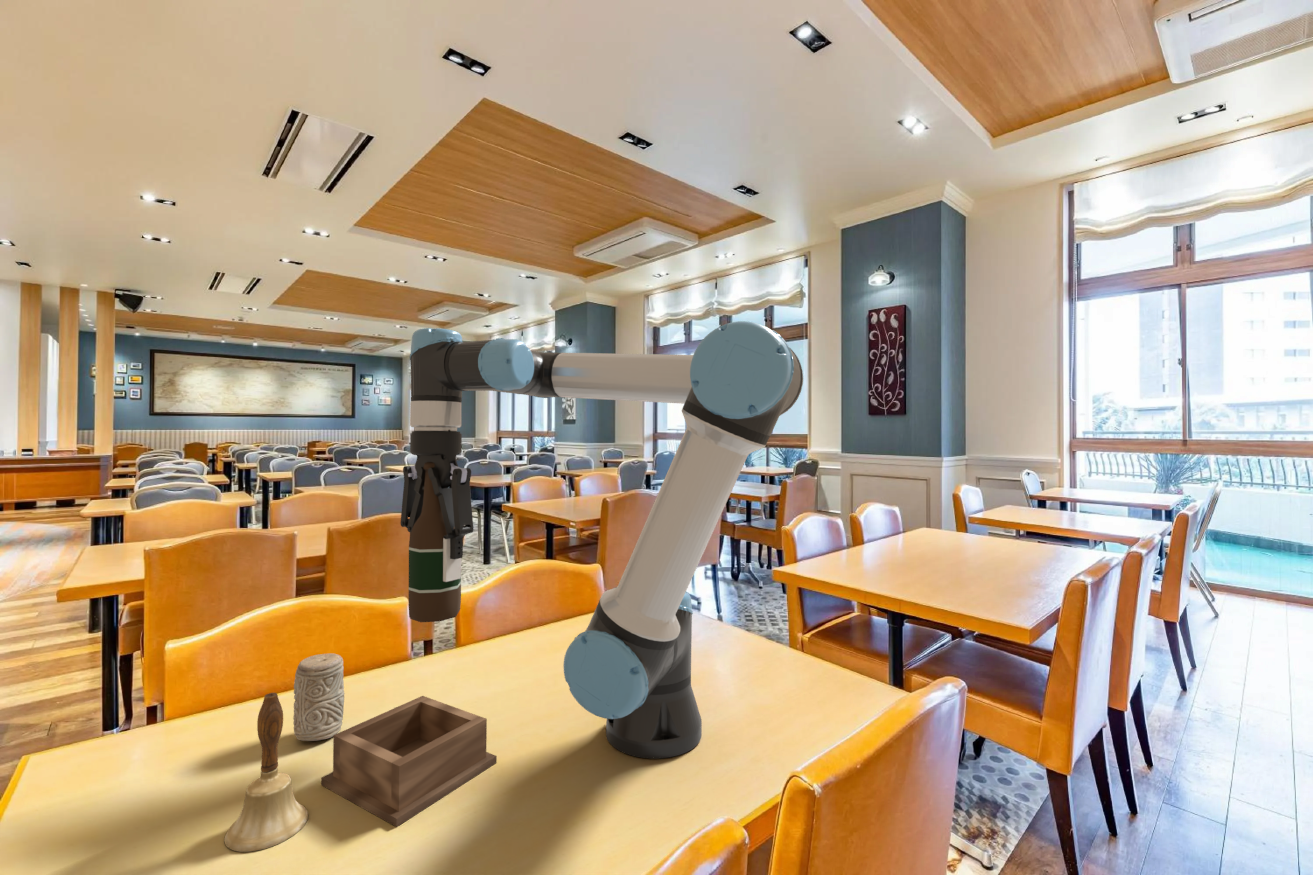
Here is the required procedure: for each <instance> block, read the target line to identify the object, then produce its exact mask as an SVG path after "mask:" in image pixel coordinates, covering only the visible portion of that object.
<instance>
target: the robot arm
mask: <svg viewBox="0 0 1313 875" xmlns="http://www.w3.org/2000/svg"><path fill="white" fill-rule="evenodd" d="M410 343H411V344H410V345H411V346H410V354H409V361H410V362H409V364H410V401H409V403H410V406H409V407H410V408H409V410H410V411H409V426H410V427H411V428H413V429H414V430H412V431H411V432H410V433H409V434H410V435H409V449H410V450H409V453H410V454H411V455H412V456H416V460H415V463H414V465H404V466H403V468H402V474H403V479H404V480H403V491H402V492H403V493H402V502H401V503H402V504H401V513H400V522H399V524H400V526H401V528H406V530H407V531H408V532H409V535H410V534H411V531H412V528H413V526H414V524H415V522H416V521H417V519H418V518H419V517H420V515H421V512H422V507H423V497H424V483H425V470H424V469H423V467H424V464H425V463H426V462H433V463H434V464H435V467H434V468H429V469H428V475H429V478H430V480H431V481H432V485H433V490H434V494H435V495H436V496H438V498H439V503H440V507H441V511H442V515H443V519H444V523H445V528H446V532H447V535H445V536H443V537H444V538H443V581H444V582H448V581H452V580H456V579H460V578H461V579H462V558H463V556H464V555H463V554H464V552H463V551H464V549H463V548H464V537H465V536H466V535H468V534H472V533H473V532H474V519H473V518H474V517H473V509H472V508H473V507H472V496H471V485H470V484H471V477H472V470H471V468H469V467H464V468H463V467H460V466H459V464H458V462H457V456H458V455H460V454H461V453H462V451H463V450H462V445H463V444H462V443H463V441H462V436H463V434H462V433H461V431H458V428H461V427H462V402H463V401H462V398H463V392H468V391H469V392H470V391H473V392H474V391H476V392H478V391H484V392H485V391H488V392H489V391H490V392H492V391H493V392H499V393H508V394H515V395H516V394H517V395H525V396H531V397H535V398H543V399H550V398H571V399H587V400H588V399H589V400H590V399H591V400H606V401H608V400H609V401H611V400H612V401H627V402H630V401H631V402H646V403H648V402H649V403H664V404H665V403H666V404H681V405H682V404H683V406H682V408H681V414H682V416H683V418H684V421H685V424H686V429H685V432H684V433H683V436H682V438H681V440H680V442H679V444H678V447H677V449H676V452H675V454H674V456H673V458H672V460H671V463H670V466H669V467H668V470H667V473H666V474H665V477H664V479H663V481H662V484H661V486H660V489H659V491H658V493H657V496H656V497H655V501H654V503H653V505H652V507H651V509H650V511H649V514H648V516H647V518H646V521H645V523H644V526H643V527H642V530H641V532H640V534H639V537H638V538H637V541H636V543H635V546H634V548H633V551H632V553H631V555H630V557H629V560H628V562H627V564H626V566H625V569H624V571H623V573H622V576H621V578H620V580H619V581H618V582H619V583H618V585H617V587H613V588H611V589H607V590H605V591H604V592H603V593H602V594H601V597H600V598H599V600H598V603H597V604H596V608H595V610H594V612H593V615H592V617H591V619H590V622H589V623H588V625H587V627H586V629H585V630H584V631H583V632H580V633H579V634H577V636H576V637H574V639H573V641H572V642H570V644H569V646H568V647H567V649H566V651H565V655H564V659H563V666H562V667H563V675H564V679H565V682H566V683H567V684H568V688H569V692H570V694H571V695H572V697H573V698H574V700H575V701H576V702H577V703H578V704H579V705H580V707H581V708H583V709H584V710H586V711H587V712H588V713H590V714H592V715H594V716H596V717H598V718H601V719H606V720H605V721H606V723H605V724H606V726H605V727H606V728H605V729H606V730H605V734H606V736H605V737H606V740H607V742H608V743H609V744H610V745H611V746H612V747H613V748H614V749H616V750H617V751H619V752H621V753H623V754H625V755H626V754H627V755H629V756H631V757H636V758H642V759H667V758H673V757H676V756H677V757H678V756H680V755H683V754H686V753H688V752H690V751H691V750H693V749H694V748H695V747H697V745H698V744H699V743H700V742H701V739H702V734H703V733H702V726H703V725H702V724H703V722H702V717H701V713H700V711H699V710H700V709H699V707H698V706H699V705H698V703H697V700H696V697H695V694H694V690H693V687H692V634H693V633H692V632H693V630H692V627H693V626H692V624H693V621H692V620H693V617H692V616H693V614H694V611H693V608H692V607H693V606H692V597H691V594H689V592H687V590H688V588H689V585H690V584H691V582H692V579H693V576H694V574H695V572H696V571H697V568H698V565H699V564H700V562H701V559H702V556H703V555H704V553H705V551H706V548H707V546H708V545H709V542H710V539H711V538H712V535H713V533H714V531H715V529H716V526H717V524H718V521H719V520H720V518H721V516H722V513H723V511H724V509H725V506H726V504H727V502H728V500H729V497H730V495H731V493H732V491H733V489H734V487H735V485H736V483H737V480H738V478H739V476H740V474H741V471H742V469H743V467H744V464H745V462H746V460H747V458H748V456H749V455H750V454H752V453H754V452H757V451H758V450H761V449H763V448H766V446H767V444H768V442H769V439H770V437H771V436H772V435H771V434H772V433H773V431H774V429H775V427H776V424H777V422H778V421H779V417H780V416H782V415H783V414H786V412H788V411H789V410H790V409H791V408H792V407H793V406H794V405H795V403H796V402H797V400H798V399H799V397H800V395H801V393H802V389H803V384H804V373H803V367H802V365H801V364H802V363H801V361H800V359H799V357H798V356H797V354H796V352H794V351H793V349H792V348H791V347H790V346H789V344H788V343H787V342H786V340H785V338H783V336H781V335H780V334H779V333H778V332H777V331H775V330H774V329H773V330H772V329H771V328H769V327H768V326H765V325H763V324H760V323H757V322H753V321H748V320H747V321H743V320H742V321H741V320H740V321H733V322H728V323H725V324H723V325H721V326H718V327H717V328H714V329H713V330H712V331H710V332H709V333H708V334H707V335H706V336H704V337H703V339H702V340H701V341H700V342H699V344H698V345H697V347H696V348H695V350H694V352H693V354H662V353H661V354H659V353H658V354H651V353H650V354H649V353H645V354H644V353H609V352H608V353H604V352H603V353H599V352H596V353H595V352H553V351H551V352H549V351H547V352H546V351H536V350H531V349H530V348H529V347H527V345H526V343H525V342H524V341H522V340H520V339H517V338H514V339H513V338H510V339H509V338H508V339H507V338H503V337H501V338H500V337H498V338H494V339H487V340H486V339H485V340H475V341H474V340H472V341H463V336H462V334H461V333H460V332H458V331H456V330H452V329H447V328H439V327H436V328H429V327H428V328H427V327H426V328H419V329H417V330H415V331H414V332H413V334H412V335H411V342H410ZM454 527H455V529H454Z"/></svg>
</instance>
